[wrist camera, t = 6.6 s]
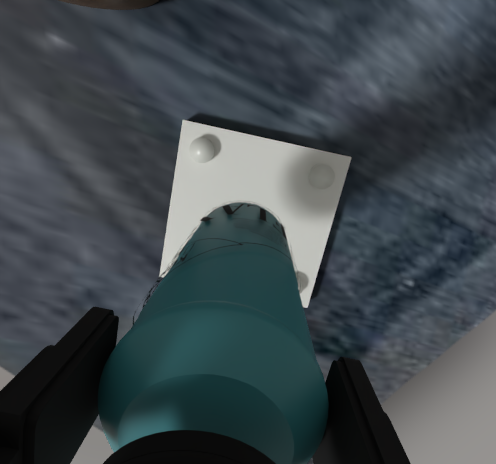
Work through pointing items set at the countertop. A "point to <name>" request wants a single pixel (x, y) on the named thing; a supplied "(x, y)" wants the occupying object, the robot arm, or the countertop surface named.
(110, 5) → the plant pot
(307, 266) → the base plate
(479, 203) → the countertop surface
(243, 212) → the beverage bottle
